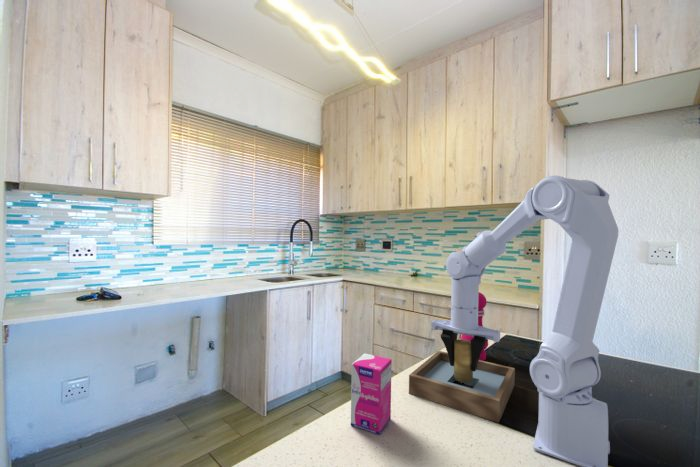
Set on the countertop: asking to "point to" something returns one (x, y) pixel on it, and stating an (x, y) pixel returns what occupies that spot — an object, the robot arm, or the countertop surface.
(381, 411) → the supplement box
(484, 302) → the pepper mill
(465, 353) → the peg
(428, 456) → the countertop surface
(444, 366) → the bore plate
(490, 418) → the tray
